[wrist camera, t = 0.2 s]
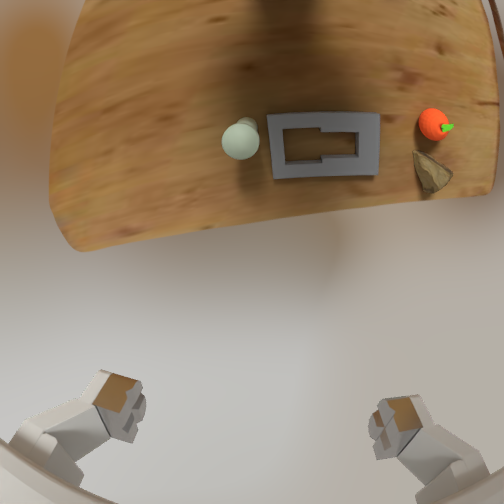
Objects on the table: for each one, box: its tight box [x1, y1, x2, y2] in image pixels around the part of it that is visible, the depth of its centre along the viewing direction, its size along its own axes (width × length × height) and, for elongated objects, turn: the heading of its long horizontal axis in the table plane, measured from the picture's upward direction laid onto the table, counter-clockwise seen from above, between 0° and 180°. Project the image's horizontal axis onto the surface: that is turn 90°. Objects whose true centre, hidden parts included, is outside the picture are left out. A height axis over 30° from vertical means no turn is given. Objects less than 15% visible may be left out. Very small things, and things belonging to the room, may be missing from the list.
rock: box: [413, 150, 453, 193], centre depth 50 cm, size 10×8×10 cm
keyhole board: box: [267, 111, 380, 179], centre depth 50 cm, size 22×13×2 cm, turn 97°
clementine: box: [419, 108, 454, 141], centre depth 42 cm, size 8×7×7 cm
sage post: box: [222, 117, 259, 160], centre depth 46 cm, size 6×6×12 cm
